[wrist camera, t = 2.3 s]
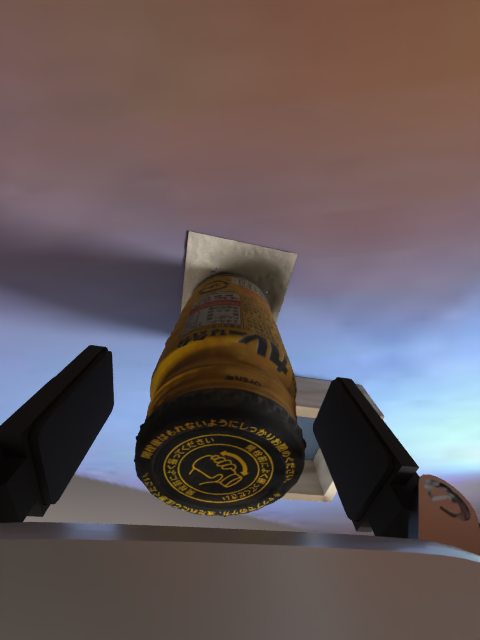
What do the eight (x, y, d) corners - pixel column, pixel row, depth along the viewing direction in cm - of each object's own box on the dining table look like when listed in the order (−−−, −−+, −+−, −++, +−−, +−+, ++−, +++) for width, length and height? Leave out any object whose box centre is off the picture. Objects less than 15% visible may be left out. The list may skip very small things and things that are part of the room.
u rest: (265, 372, 20) (272, 402, 17) (361, 385, 21) (384, 416, 18) (240, 459, 25) (241, 495, 22) (318, 466, 26) (330, 502, 23)
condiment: (178, 341, 19) (102, 526, 8) (189, 230, 15) (79, 290, 4) (265, 354, 19) (307, 539, 9) (296, 253, 16) (433, 350, 5)
